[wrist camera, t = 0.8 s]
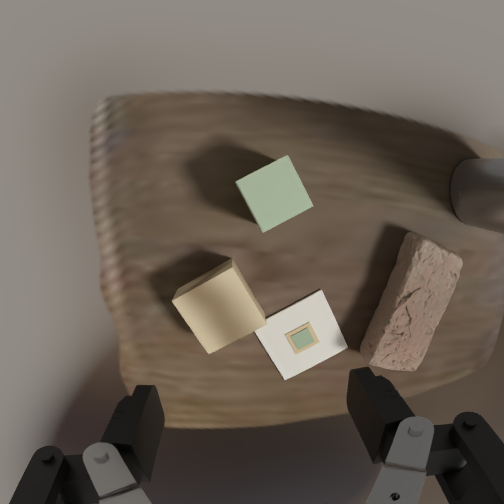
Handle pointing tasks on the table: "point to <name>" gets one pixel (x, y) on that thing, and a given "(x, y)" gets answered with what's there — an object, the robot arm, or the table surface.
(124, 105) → the table surface
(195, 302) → the base block
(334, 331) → the page
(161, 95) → the table surface
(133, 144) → the table surface
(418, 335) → the brick
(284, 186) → the green block
